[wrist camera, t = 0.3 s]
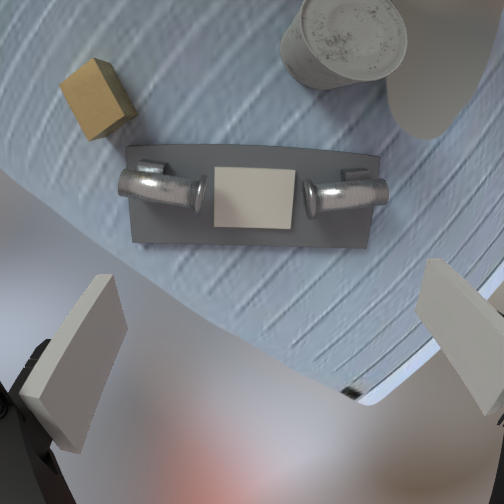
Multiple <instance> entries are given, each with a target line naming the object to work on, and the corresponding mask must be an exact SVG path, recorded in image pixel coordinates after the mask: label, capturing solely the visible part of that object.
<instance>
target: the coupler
mask: <svg viewBox="0 0 504 504" xmlns="http://www.w3.org/2000/svg"><path fill="white" fill-rule="evenodd" d="M59 86H60V88H61V90H62V92H63V94H64V96H65V98H66V100H67V102H68V104H69V106H70V108H71V110H72V111H73V113H74V115H75V117H76V119H77V121H78V123H79V125H80V126H81V128H82V130H83V132H84V134H85V136H86V137H87V139H88V141H92V140H96V139H100V138H104V137H107V136H108V135H109V134H111V133H112V132H114V131H115V130H116V129H118V128H119V127H121V126H122V125H124V124H125V123H127V122H128V121H130V120H131V119H133V118H134V117H136V116H137V115H138V113H137V111H136V110H135V108H134V106H133V104H132V102H131V101H130V99H129V97H128V95H127V93H126V92H125V90H124V88H123V86H122V84H121V83H120V81H119V79H118V77H117V75H116V73H115V72H114V70H113V68H112V66H111V64H110V63H108V62H105V61H102V60H99V59H96V58H92V59H91V60H89V61H88V62H87V63H86V64H84V65H83V66H82V67H80V68H79V69H78V70H77V71H75V72H74V73H73V74H72V75H70V76H69V77H68V78H67V79H66V80H64V81H63V82H62V83H61V84H60V85H59Z"/></svg>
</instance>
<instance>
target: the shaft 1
mask: <svg viewBox="0 0 504 504" xmlns="http://www.w3.org/2000/svg"><path fill="white" fill-rule="evenodd" d="M167 164H168V163H167V162H161V161H154V160H148V159H142V160H140V161H138V165H137V170H132V169H124V170H123V171H122V173H121V175H120V178H119V183H118V194H119V196H124V197H130V198H134V199H135V200H140V201H146V202H152V203H165V204H170V205H176V206H181V207H187V208H192V209H194V216H199V217H200V214H201V211H202V206H203V202H204V197H205V192H206V186H207V180H208V175H203V174H202V175H201V178H200V181H198V180H193V179H187V178H181V177H176V176H170V175H166V170H167Z"/></svg>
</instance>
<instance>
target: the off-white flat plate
mask: <svg viewBox="0 0 504 504" xmlns="http://www.w3.org/2000/svg"><path fill="white" fill-rule="evenodd" d="M294 182H295V170H288V169H269V168H244V167H215V180H214V227H244V228H277V229H290V228H291V217H292V206H293V194H294Z"/></svg>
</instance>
